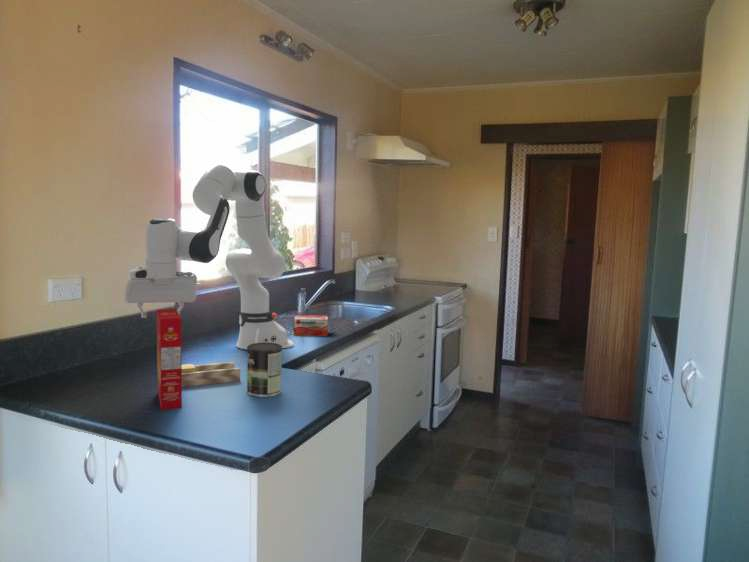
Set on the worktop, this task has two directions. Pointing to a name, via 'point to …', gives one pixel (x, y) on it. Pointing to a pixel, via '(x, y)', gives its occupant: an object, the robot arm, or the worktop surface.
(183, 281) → the robot arm
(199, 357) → the worktop surface
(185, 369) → the block
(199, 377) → the u-shaped frame
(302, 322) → the medicine box
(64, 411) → the worktop surface
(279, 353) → the coffee can
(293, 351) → the worktop surface
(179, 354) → the food packaging
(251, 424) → the worktop surface
